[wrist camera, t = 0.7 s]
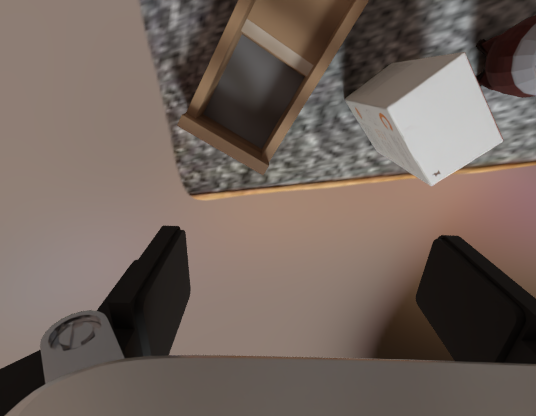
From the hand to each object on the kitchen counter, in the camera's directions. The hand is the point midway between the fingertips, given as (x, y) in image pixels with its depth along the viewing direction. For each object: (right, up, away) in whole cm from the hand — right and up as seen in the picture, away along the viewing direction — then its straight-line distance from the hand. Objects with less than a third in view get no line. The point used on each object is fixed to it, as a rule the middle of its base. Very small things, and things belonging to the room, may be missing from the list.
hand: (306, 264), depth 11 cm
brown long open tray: (+1, +21, +19) cm, 29 cm away
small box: (+12, +14, +23) cm, 29 cm away
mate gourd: (+23, +18, +21) cm, 36 cm away
